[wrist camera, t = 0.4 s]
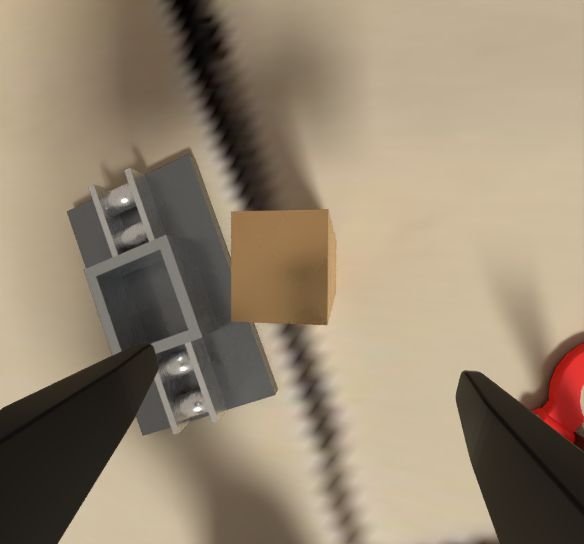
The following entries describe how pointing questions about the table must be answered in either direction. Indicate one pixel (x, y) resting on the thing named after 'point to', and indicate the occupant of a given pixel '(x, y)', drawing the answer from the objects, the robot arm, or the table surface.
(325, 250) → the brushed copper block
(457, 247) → the table surface
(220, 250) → the grey fixture tray
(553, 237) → the table surface
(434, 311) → the table surface
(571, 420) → the tow hook
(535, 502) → the robot arm
